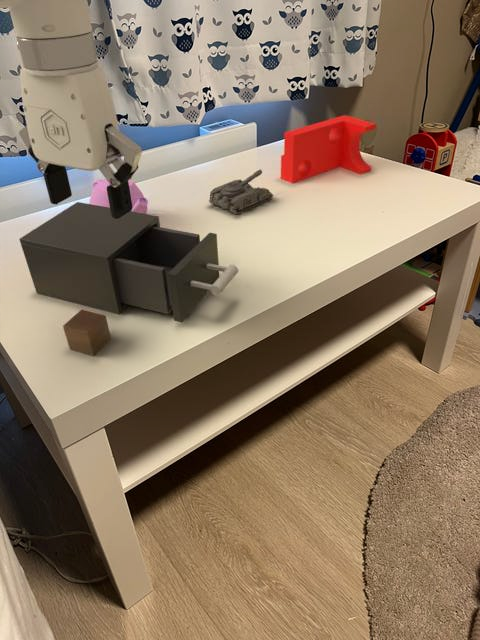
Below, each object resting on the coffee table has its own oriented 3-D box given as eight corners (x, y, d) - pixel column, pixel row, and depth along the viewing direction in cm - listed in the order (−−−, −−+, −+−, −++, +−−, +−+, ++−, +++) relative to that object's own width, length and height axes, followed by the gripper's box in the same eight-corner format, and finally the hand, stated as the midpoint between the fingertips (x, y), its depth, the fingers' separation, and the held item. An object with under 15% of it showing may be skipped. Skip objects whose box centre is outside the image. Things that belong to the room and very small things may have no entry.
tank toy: (245, 187, 113) (245, 163, 110) (278, 199, 107) (278, 175, 104) (203, 205, 106) (201, 180, 103) (235, 219, 101) (234, 193, 98)
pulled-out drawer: (247, 284, 81) (246, 239, 76) (212, 330, 72) (208, 282, 67) (141, 261, 87) (134, 218, 83) (96, 301, 78) (85, 255, 74)
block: (93, 356, 70) (87, 332, 67) (69, 349, 71) (62, 325, 69) (111, 338, 72) (105, 315, 70) (87, 332, 74) (81, 309, 71)
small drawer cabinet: (166, 269, 87) (158, 216, 81) (119, 314, 77) (107, 257, 71) (89, 252, 92) (77, 201, 86) (36, 293, 82) (18, 238, 76)
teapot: (120, 205, 107) (112, 161, 102) (170, 225, 99) (165, 178, 94) (78, 224, 101) (67, 177, 96) (128, 247, 93) (119, 198, 88)
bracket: (341, 114, 118) (376, 123, 112) (338, 158, 125) (370, 170, 118) (281, 131, 110) (314, 143, 103) (280, 178, 116) (312, 192, 110)
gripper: (-28, 54, 55) (17, 206, 65) (99, 66, 48) (128, 233, 58) (26, 43, 60) (60, 185, 71) (148, 52, 54) (166, 207, 64)
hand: (91, 207), depth 65 cm, fingers open, 9 cm apart
